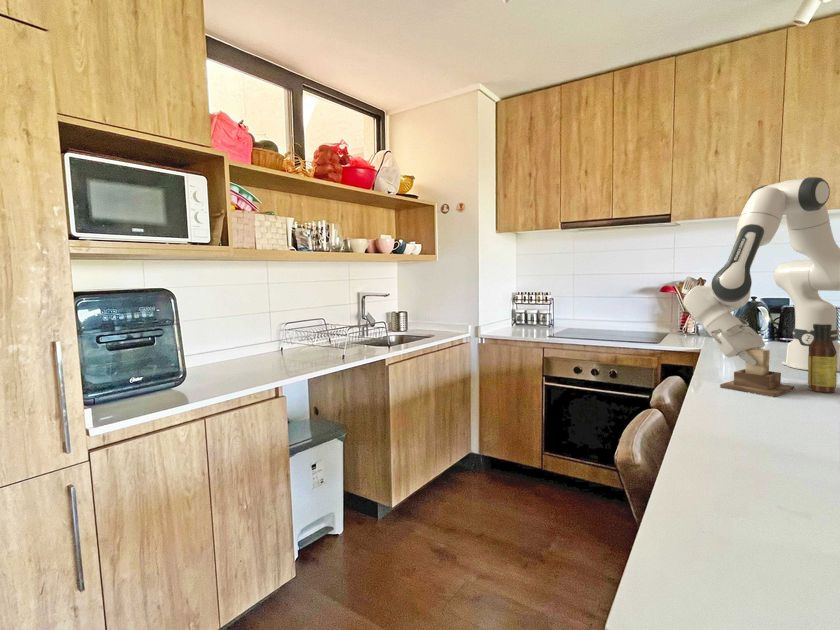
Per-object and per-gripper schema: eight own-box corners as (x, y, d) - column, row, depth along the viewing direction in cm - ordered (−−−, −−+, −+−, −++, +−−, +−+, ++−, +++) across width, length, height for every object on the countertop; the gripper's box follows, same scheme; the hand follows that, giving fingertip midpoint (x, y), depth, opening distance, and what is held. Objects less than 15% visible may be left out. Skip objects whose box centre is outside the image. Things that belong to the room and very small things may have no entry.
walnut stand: (741, 380, 146) (742, 365, 146) (794, 389, 134) (795, 373, 134) (720, 387, 139) (720, 371, 138) (774, 397, 127) (774, 379, 126)
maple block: (751, 376, 139) (752, 348, 138) (768, 379, 135) (769, 349, 135) (745, 378, 137) (746, 349, 136) (762, 381, 133) (763, 351, 132)
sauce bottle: (842, 393, 129) (845, 324, 127) (819, 393, 129) (823, 325, 127) (822, 387, 135) (825, 322, 134) (801, 388, 135) (803, 323, 134)
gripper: (716, 324, 135) (752, 361, 128) (748, 319, 146) (783, 353, 138) (700, 337, 139) (734, 374, 132) (732, 332, 150) (765, 365, 143)
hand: (759, 363), depth 135 cm, fingers closed on maple block, 4 cm apart
